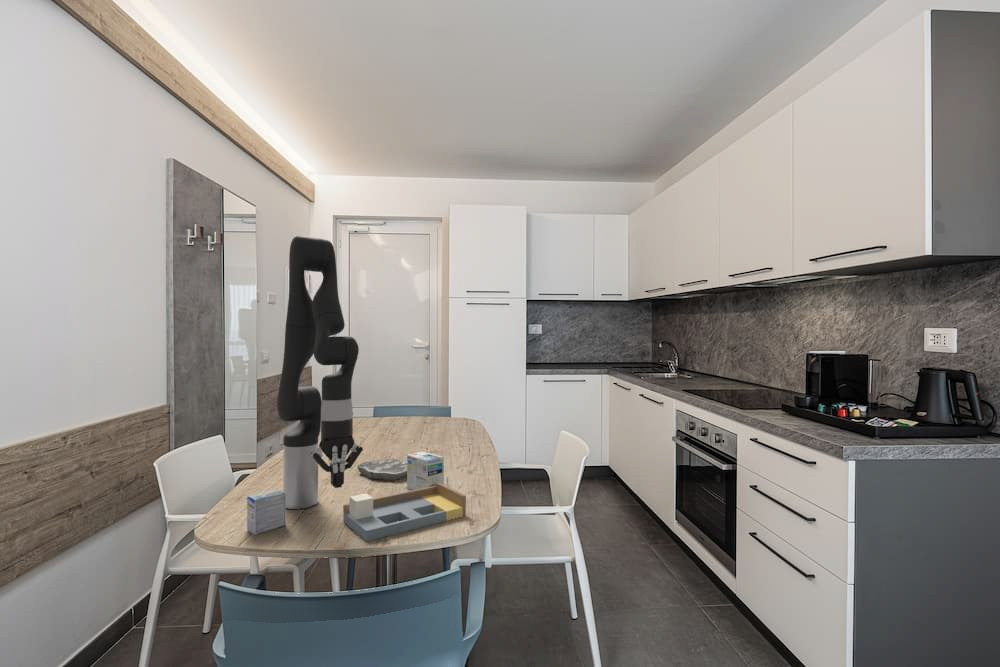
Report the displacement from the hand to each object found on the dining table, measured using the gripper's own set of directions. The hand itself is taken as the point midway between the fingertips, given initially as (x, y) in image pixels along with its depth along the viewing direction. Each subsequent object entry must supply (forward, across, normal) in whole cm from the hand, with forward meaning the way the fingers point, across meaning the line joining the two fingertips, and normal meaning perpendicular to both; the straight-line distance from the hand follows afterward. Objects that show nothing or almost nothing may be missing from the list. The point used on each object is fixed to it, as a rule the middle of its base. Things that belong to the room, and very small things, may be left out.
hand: (337, 486), depth 127 cm
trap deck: (+11, -17, +3) cm, 21 cm away
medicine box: (+11, +14, -12) cm, 21 cm away
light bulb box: (+11, -33, -16) cm, 38 cm away
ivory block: (+8, -6, 0) cm, 11 cm away
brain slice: (+11, -31, -39) cm, 51 cm away
